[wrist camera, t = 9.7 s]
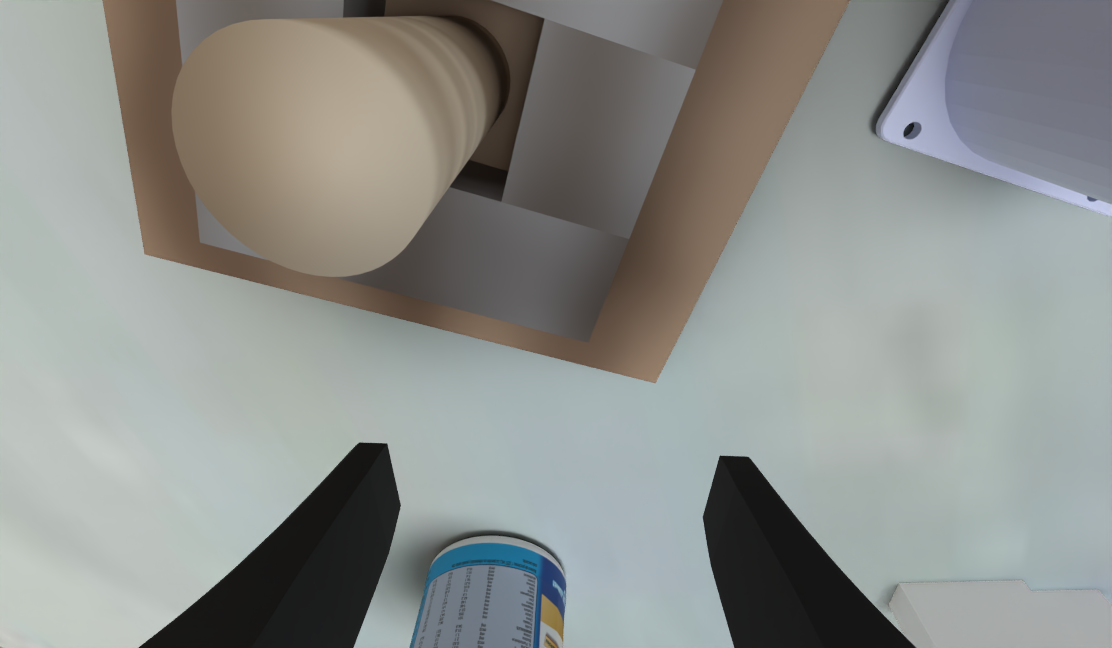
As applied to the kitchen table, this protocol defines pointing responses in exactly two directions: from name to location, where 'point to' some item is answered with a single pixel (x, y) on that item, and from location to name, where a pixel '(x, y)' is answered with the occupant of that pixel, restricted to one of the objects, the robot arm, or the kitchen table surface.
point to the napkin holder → (1001, 616)
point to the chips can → (492, 597)
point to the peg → (334, 130)
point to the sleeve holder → (528, 164)
